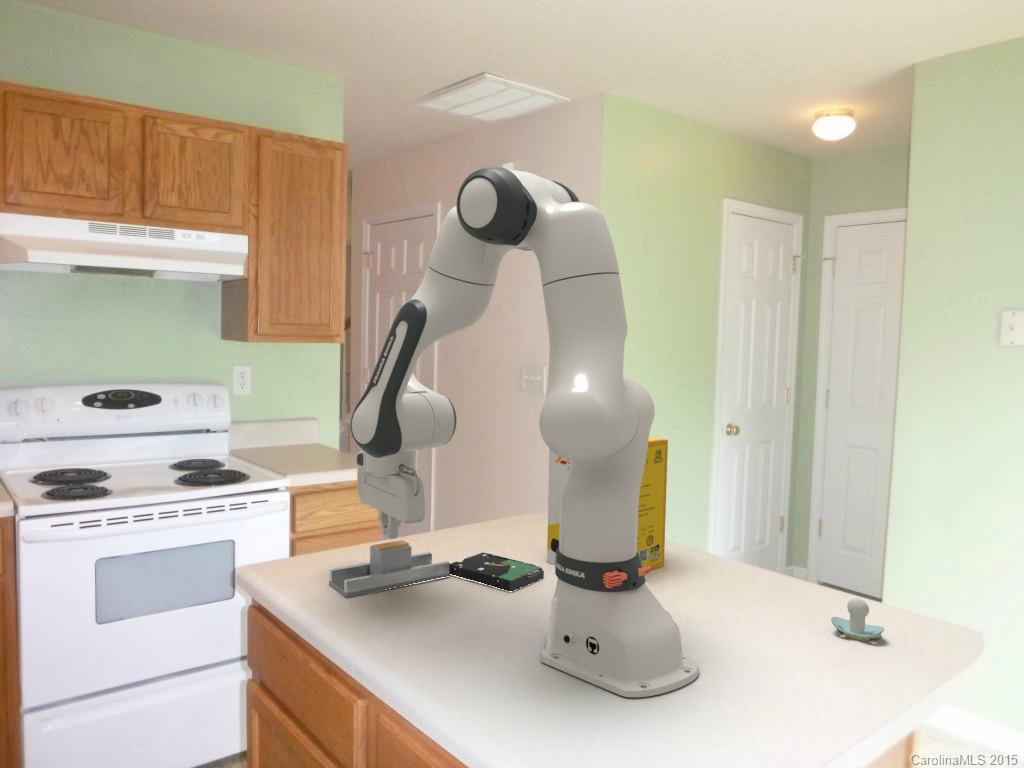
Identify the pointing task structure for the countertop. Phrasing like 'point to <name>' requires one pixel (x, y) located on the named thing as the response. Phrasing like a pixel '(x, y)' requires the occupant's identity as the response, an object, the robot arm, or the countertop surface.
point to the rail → (385, 576)
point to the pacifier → (857, 622)
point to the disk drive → (497, 571)
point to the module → (390, 557)
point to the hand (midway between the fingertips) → (389, 536)
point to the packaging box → (648, 506)
